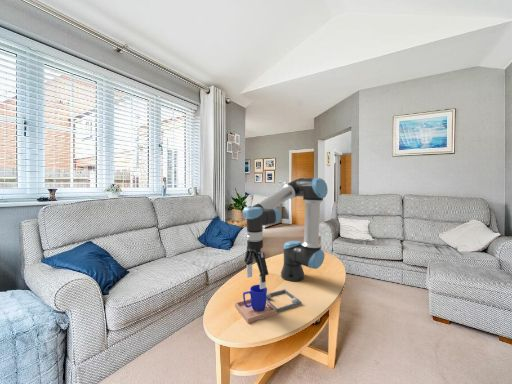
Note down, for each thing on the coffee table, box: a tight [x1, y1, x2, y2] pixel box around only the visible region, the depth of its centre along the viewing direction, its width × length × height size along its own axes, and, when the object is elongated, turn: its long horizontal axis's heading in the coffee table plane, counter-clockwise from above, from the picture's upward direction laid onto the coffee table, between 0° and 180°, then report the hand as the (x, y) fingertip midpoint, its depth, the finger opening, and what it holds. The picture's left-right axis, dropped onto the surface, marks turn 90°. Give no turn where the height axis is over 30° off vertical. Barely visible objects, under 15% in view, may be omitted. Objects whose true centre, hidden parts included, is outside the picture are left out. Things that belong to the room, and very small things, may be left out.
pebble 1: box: [266, 292, 272, 300], centre depth 123 cm, size 3×3×3 cm
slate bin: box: [266, 288, 302, 313], centre depth 121 cm, size 15×15×1 cm
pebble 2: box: [291, 297, 298, 304], centre depth 118 cm, size 3×3×3 cm
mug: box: [242, 284, 268, 311], centre depth 112 cm, size 8×12×10 cm
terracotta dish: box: [234, 297, 277, 324], centre depth 112 cm, size 15×15×2 cm
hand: (255, 282), depth 112 cm, fingers open, 13 cm apart
